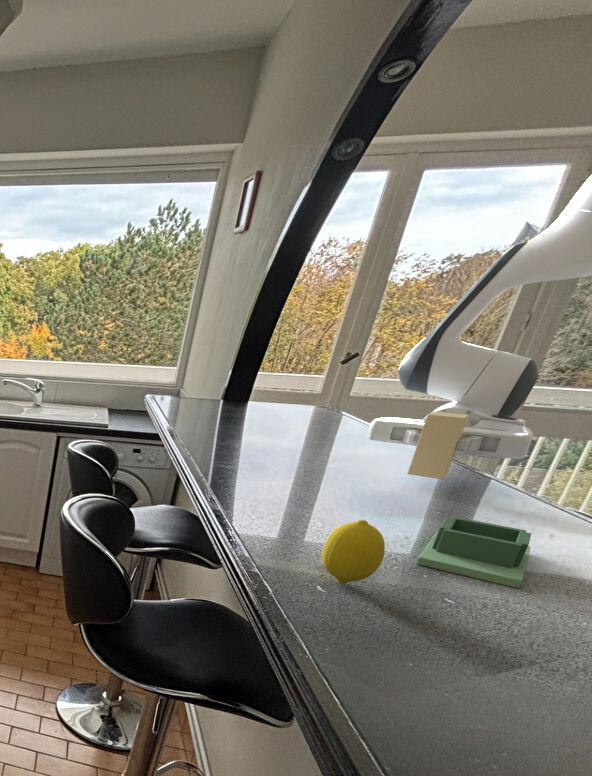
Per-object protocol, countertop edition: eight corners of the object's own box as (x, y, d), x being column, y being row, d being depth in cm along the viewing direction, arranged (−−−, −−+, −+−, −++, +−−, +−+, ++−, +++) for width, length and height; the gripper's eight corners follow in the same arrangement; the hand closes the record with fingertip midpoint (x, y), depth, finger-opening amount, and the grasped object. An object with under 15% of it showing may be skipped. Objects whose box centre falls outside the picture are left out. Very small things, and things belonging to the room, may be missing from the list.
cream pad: (411, 469, 101) (432, 411, 98) (446, 474, 98) (469, 414, 95) (406, 474, 99) (427, 414, 95) (442, 479, 96) (465, 418, 92)
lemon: (347, 596, 67) (370, 530, 64) (302, 576, 72) (321, 514, 69) (383, 590, 68) (407, 526, 65) (337, 571, 73) (357, 510, 70)
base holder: (436, 534, 85) (446, 508, 83) (527, 553, 79) (540, 525, 77) (416, 564, 75) (427, 535, 74) (518, 588, 69) (533, 557, 67)
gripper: (381, 406, 111) (364, 415, 102) (539, 421, 96) (535, 432, 88) (371, 440, 113) (353, 451, 104) (524, 459, 99) (518, 473, 90)
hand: (438, 442), depth 96 cm, fingers closed on cream pad, 4 cm apart
